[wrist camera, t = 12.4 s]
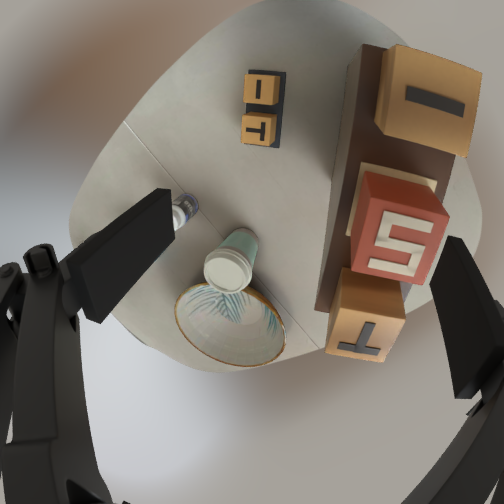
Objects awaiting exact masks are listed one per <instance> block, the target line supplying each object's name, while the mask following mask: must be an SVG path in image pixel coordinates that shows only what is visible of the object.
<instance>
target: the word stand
mask: <svg viewBox="0 0 504 504" xmlns="http://www.w3.org/2000/svg"><path fill="white" fill-rule="evenodd" d="M481 80H482V73H481V72H478V71H476V70H474V69H471V68H469V67H466V66H464V65H461V64H458V63H456V62H453V61H450V60H448V59H445V58H442V57H439V56H436V55H433V54H430V53H427V52H423V51H420V50H417V49H413V48H410V47H406V46H402V45H399V44H396V45H394V46H392V47H391V48H389V49H386V48H381V47H377V46H372V45H368V44H362V45H361V47H360V48H359V50H358V52H357V53H356V55H355V56H354V58H353V59H352V61H351V62H350V64H349V65H348V69H347V78H346V86H345V95H344V103H343V110H342V118H341V125H340V132H339V139H338V145H337V152H336V158H335V164H334V170H333V176H332V183H331V192H330V201H329V210H328V219H327V227H326V234H325V242H324V249H323V257H322V264H321V270H320V277H319V283H318V290H317V296H316V302H315V308H314V310H316V311H321V312H326V313H329V321H328V329H327V337H326V344H325V353H329V354H334V355H339V356H345V357H351V358H356V359H362V360H368V361H375V362H381V363H382V362H383V361H384V360H385V358H386V356H387V355H388V353H389V351H390V349H391V347H392V346H393V344H394V342H395V340H396V338H397V336H398V334H399V332H400V330H401V329H402V327H403V325H404V323H405V321H406V316H405V310H404V302H405V300H406V298H407V295H408V293H409V291H410V289H411V286H412V283H408V282H403V281H398V280H393V279H388V278H383V277H379V276H374V275H369V274H364V273H359V272H354V271H351V229H352V225H353V221H354V217H355V212H356V208H357V204H358V199H359V195H360V190H361V186H362V181H363V176H364V172H365V171H369V172H373V173H377V174H382V175H386V176H390V177H394V178H398V179H402V180H406V181H410V182H414V183H418V184H421V185H425V186H429V187H430V188H431V189H432V191H433V192H434V194H435V195H436V196H437V198H438V199H439V201H440V202H441V204H442V203H443V199H444V196H445V193H446V189H447V186H448V182H449V179H450V175H451V171H452V167H453V164H454V160H455V156H456V155H458V156H461V157H464V158H467V155H468V150H469V146H470V142H471V137H472V133H473V128H474V123H475V117H476V112H477V107H478V101H479V94H480V87H481Z"/></svg>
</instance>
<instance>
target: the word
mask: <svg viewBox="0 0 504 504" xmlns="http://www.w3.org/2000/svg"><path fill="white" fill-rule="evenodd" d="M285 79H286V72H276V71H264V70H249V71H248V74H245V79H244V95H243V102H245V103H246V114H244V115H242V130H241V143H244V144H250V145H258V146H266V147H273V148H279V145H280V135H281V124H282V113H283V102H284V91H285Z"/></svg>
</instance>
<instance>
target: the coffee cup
mask: <svg viewBox="0 0 504 504" xmlns="http://www.w3.org/2000/svg"><path fill="white" fill-rule="evenodd" d="M258 245H259V241H258V238H257V236H256V235H255V234H254V233H253V232H252V231H251V230H249V229H245V228H239V229H236V230H235V231H233V232H232V233H231V234H230V235H229V236H228V237H227V238H226V239H225V240H224V241H223V242H222V243H221V244H220V245H219V246H218V247H217V248H216V249H215V250H214V251H212V252H210V253H209V254H208V256H207V257H206V260H205V262H204V276H205V279H206V281H207V282H208V283H209V285H210V286H211V287H213V288H214V289H215V290H217V291H219V292H222V293H226V294H234V293H237V292H239V291H241V290H242V289H244V288H245V287H246V286H247V285H248V284H249V283H250V281H251V278H252V268H253V264H254V261H255V257H256V253H257V249H258Z"/></svg>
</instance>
